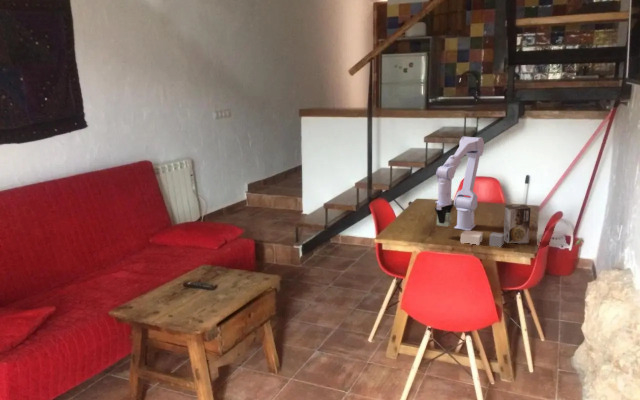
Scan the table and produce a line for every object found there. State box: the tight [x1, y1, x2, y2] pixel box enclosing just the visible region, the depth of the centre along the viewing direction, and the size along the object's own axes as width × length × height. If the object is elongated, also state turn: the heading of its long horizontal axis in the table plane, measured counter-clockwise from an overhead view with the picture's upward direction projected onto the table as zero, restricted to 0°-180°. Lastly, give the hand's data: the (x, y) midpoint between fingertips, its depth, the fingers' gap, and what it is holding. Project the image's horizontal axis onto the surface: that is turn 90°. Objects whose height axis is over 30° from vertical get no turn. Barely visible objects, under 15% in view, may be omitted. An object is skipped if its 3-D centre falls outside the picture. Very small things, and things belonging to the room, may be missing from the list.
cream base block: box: [459, 230, 484, 246], centre depth 226 cm, size 8×8×4 cm
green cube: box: [436, 212, 452, 228], centre depth 232 cm, size 5×5×5 cm
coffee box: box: [503, 204, 531, 244], centre depth 223 cm, size 9×6×16 cm
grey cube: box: [488, 231, 505, 248], centre depth 220 cm, size 5×5×5 cm
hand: (443, 221), depth 232 cm, fingers closed on green cube, 5 cm apart
